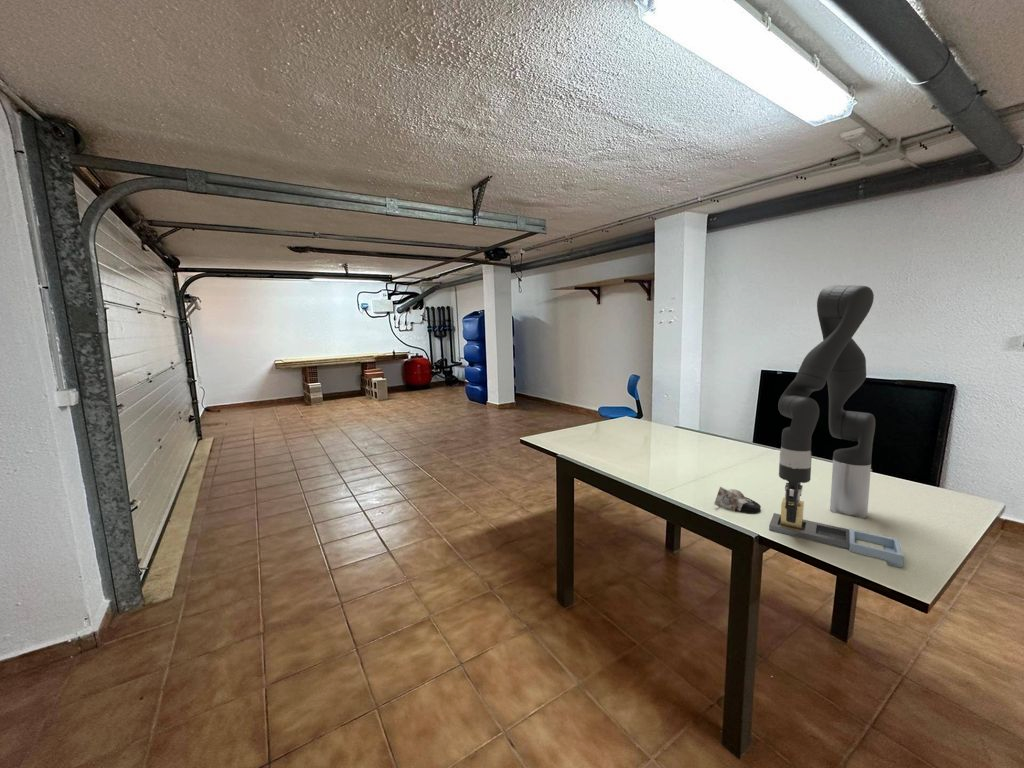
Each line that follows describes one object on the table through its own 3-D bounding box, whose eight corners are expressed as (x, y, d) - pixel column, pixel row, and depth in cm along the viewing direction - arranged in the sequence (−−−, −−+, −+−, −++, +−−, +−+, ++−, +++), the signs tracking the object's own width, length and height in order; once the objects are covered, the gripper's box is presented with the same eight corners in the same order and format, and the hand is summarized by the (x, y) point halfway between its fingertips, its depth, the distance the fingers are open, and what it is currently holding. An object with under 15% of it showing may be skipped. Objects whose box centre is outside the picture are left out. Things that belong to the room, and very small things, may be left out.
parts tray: (848, 539, 111) (849, 528, 111) (898, 550, 105) (898, 539, 104) (849, 554, 104) (849, 543, 103) (902, 567, 97) (903, 555, 97)
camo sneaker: (760, 518, 130) (746, 523, 125) (727, 501, 139) (713, 504, 134) (767, 500, 129) (753, 504, 123) (734, 484, 138) (719, 486, 132)
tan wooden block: (782, 522, 120) (783, 497, 119) (802, 527, 117) (803, 501, 116) (780, 529, 116) (781, 503, 115) (801, 534, 113) (802, 507, 112)
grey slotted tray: (773, 520, 123) (773, 513, 123) (848, 537, 112) (849, 529, 112) (768, 533, 116) (769, 525, 116) (849, 552, 104) (849, 543, 104)
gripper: (782, 455, 122) (779, 505, 124) (776, 467, 111) (773, 522, 113) (812, 459, 117) (809, 511, 119) (809, 472, 106) (806, 529, 108)
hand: (792, 516), depth 116 cm, fingers open, 8 cm apart
